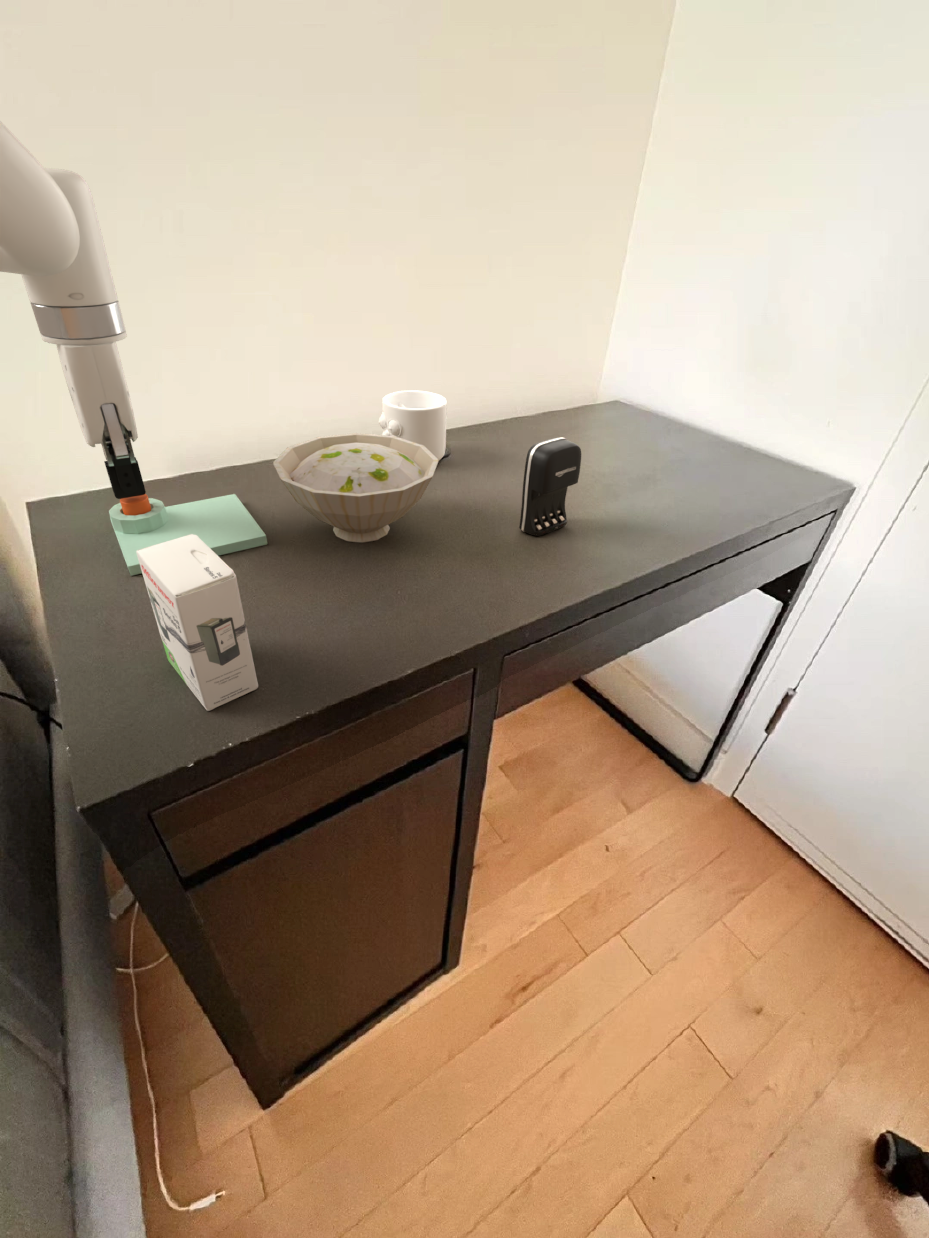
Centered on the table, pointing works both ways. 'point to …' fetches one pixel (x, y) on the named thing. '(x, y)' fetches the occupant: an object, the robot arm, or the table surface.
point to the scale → (187, 527)
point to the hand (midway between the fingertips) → (130, 494)
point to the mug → (416, 418)
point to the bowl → (357, 480)
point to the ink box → (199, 618)
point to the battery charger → (548, 484)
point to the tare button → (135, 505)
